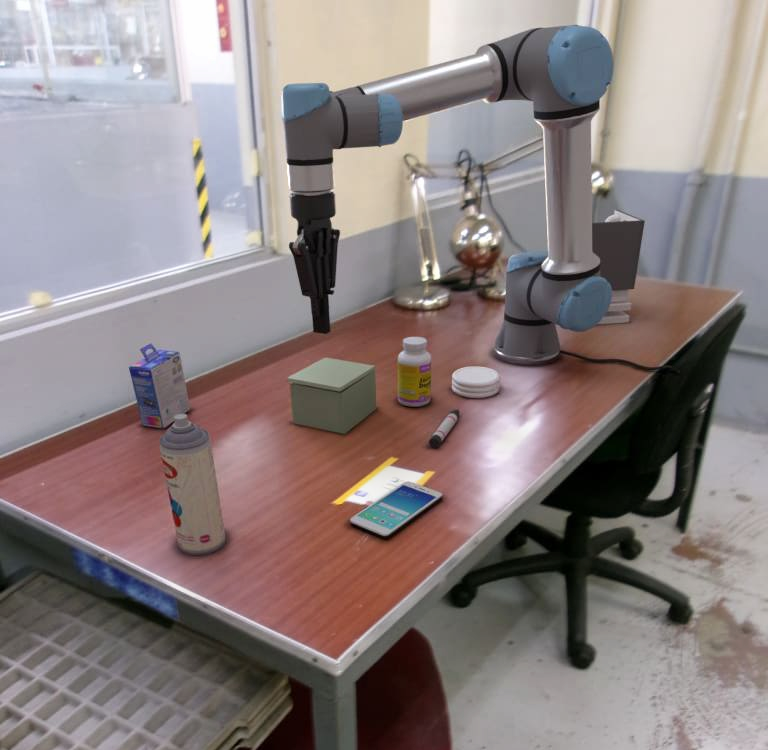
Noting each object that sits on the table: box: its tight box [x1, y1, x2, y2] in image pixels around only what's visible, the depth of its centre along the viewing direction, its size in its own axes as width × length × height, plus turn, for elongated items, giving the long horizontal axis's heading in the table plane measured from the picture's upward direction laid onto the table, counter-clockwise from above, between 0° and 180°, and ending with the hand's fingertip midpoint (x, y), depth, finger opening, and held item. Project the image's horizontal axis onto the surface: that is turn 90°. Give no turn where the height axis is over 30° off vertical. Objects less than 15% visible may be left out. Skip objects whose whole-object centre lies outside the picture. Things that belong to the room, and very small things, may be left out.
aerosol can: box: [159, 413, 227, 556], centre depth 104 cm, size 7×7×20 cm
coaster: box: [451, 365, 501, 399], centre depth 156 cm, size 10×10×4 cm
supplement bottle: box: [397, 336, 432, 408], centre depth 149 cm, size 7×7×13 cm
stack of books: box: [592, 209, 645, 325], centre depth 193 cm, size 16×19×25 cm
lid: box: [286, 356, 376, 392], centre depth 142 cm, size 14×11×1 cm
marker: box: [428, 408, 460, 449], centre depth 140 cm, size 15×2×2 cm, turn 159°
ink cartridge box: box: [128, 343, 191, 429], centre depth 144 cm, size 10×6×14 cm, turn 161°
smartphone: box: [349, 480, 443, 540], centre depth 115 cm, size 8×1×15 cm
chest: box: [289, 369, 377, 435], centre depth 144 cm, size 13×11×8 cm
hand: (321, 331), depth 135 cm, fingers closed
